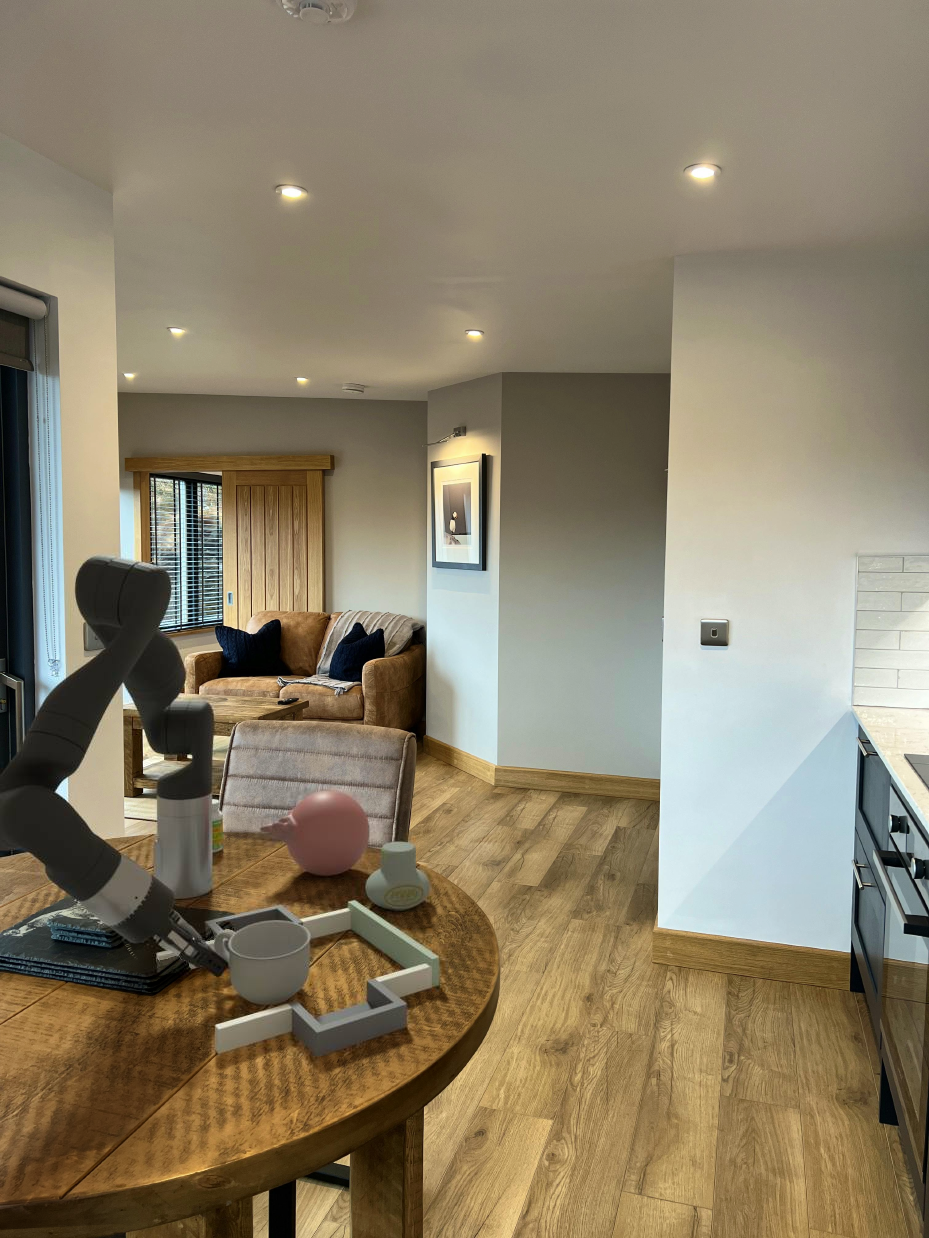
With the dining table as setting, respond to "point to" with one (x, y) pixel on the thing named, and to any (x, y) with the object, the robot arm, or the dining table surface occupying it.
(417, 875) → the air freshener
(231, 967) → the teacup
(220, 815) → the supplement bottle
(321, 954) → the dining table surface
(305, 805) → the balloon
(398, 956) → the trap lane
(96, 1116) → the dining table surface
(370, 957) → the dining table surface
